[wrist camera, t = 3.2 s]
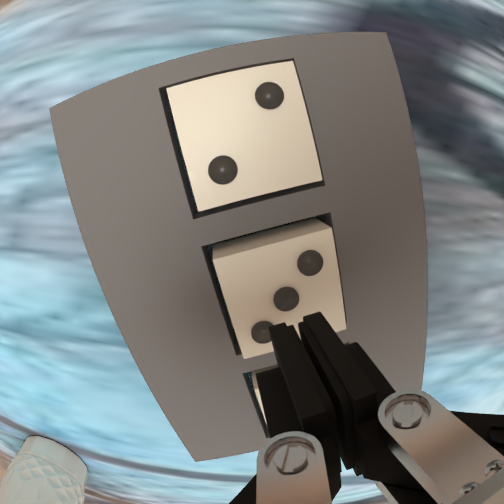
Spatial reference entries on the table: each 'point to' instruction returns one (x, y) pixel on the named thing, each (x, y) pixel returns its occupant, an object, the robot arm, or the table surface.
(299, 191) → the button panel
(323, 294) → the button three
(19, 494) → the white cup
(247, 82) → the button two
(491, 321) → the table surface
